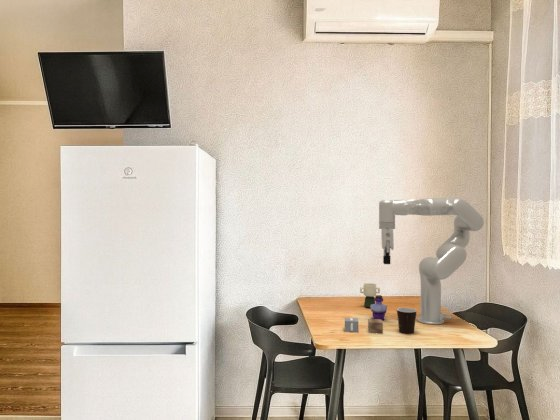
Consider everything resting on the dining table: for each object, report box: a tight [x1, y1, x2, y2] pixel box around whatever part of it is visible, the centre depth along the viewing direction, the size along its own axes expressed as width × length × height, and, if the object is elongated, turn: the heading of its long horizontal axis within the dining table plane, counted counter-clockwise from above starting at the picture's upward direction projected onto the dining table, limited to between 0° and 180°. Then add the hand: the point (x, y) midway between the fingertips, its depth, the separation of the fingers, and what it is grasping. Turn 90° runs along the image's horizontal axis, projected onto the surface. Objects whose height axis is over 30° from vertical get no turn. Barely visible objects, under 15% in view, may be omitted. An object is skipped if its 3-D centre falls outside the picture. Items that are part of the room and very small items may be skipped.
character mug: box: [359, 282, 381, 309], centre depth 250 cm, size 11×7×13 cm, turn 88°
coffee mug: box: [396, 307, 417, 335], centre depth 200 cm, size 12×9×10 cm
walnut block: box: [367, 318, 384, 335], centre depth 202 cm, size 6×6×5 cm
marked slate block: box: [344, 317, 359, 333], centre depth 204 cm, size 6×6×5 cm
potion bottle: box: [370, 294, 388, 322], centre depth 224 cm, size 9×9×12 cm
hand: (386, 263), depth 215 cm, fingers closed
